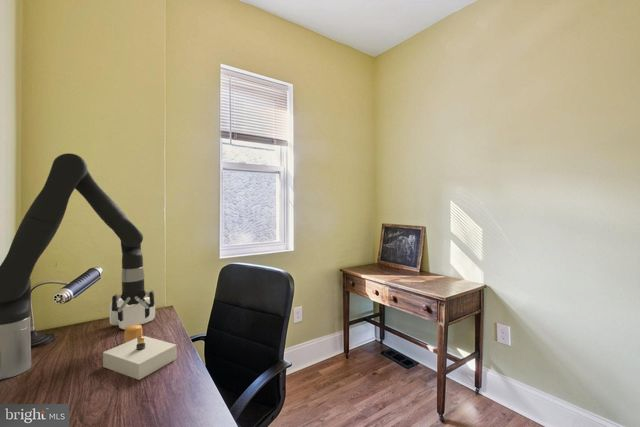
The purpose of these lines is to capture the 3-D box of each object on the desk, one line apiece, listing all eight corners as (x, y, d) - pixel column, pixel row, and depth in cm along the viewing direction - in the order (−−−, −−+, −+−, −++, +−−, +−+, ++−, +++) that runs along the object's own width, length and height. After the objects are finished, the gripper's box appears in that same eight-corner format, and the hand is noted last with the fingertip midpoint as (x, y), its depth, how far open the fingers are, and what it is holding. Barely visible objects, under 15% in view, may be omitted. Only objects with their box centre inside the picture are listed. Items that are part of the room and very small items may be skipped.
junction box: (139, 379, 93) (138, 364, 92) (103, 366, 100) (103, 352, 100) (176, 358, 105) (176, 344, 105) (142, 348, 113) (142, 335, 112)
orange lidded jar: (131, 346, 114) (131, 331, 114) (121, 343, 116) (121, 328, 116) (145, 340, 119) (145, 325, 119) (135, 337, 121) (135, 323, 121)
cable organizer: (144, 316, 145) (143, 292, 145) (155, 320, 139) (155, 296, 139) (109, 326, 132) (108, 301, 132) (120, 332, 127) (120, 305, 126)
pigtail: (139, 350, 101) (139, 339, 101) (134, 349, 102) (134, 337, 102) (146, 347, 103) (146, 336, 103) (141, 346, 104) (141, 334, 104)
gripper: (108, 283, 111) (110, 325, 111) (152, 279, 116) (153, 319, 117) (114, 278, 118) (115, 318, 118) (154, 274, 123) (156, 313, 124)
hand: (134, 319), depth 117 cm, fingers open, 8 cm apart
